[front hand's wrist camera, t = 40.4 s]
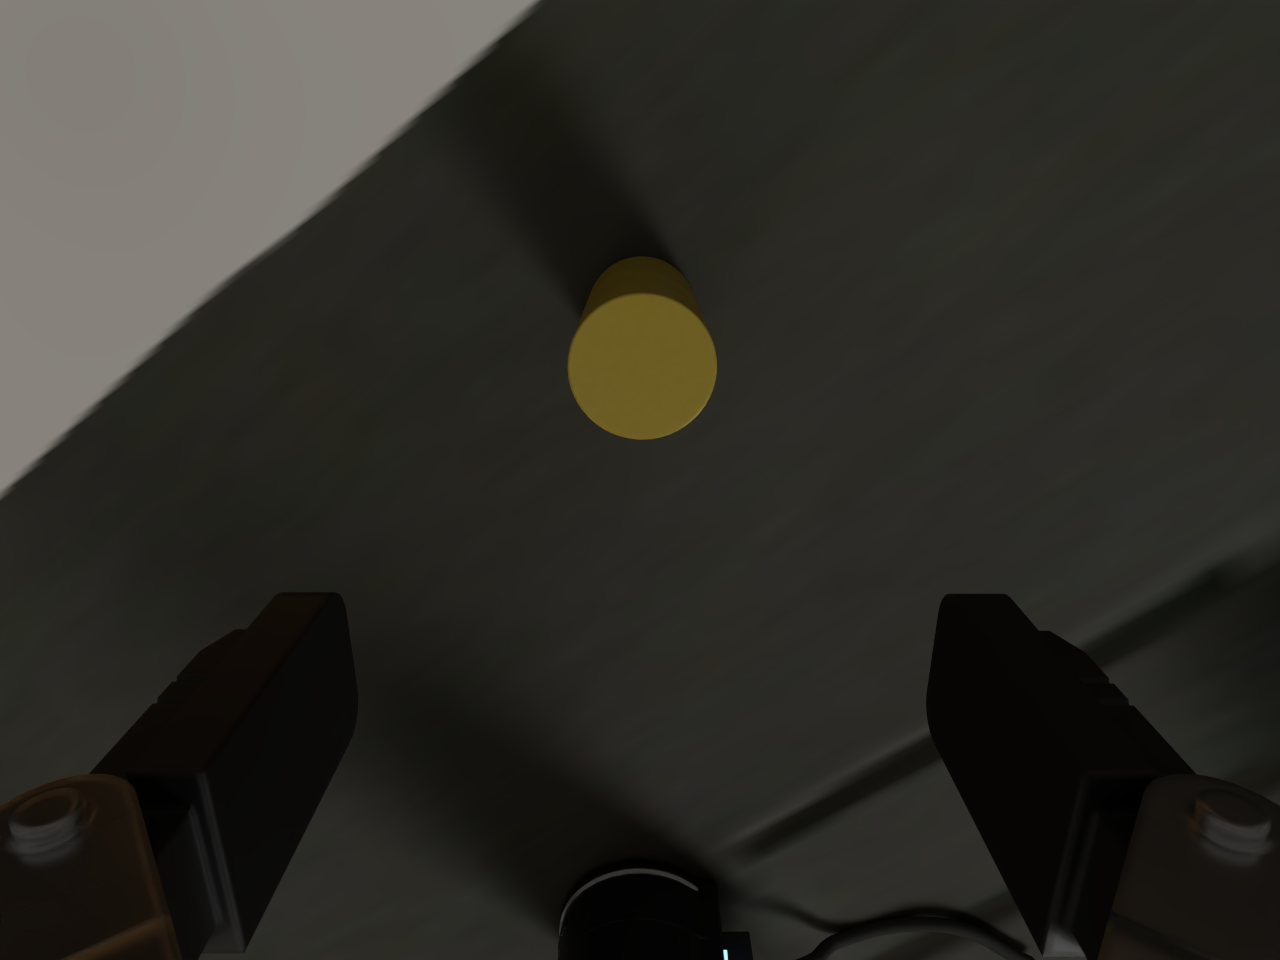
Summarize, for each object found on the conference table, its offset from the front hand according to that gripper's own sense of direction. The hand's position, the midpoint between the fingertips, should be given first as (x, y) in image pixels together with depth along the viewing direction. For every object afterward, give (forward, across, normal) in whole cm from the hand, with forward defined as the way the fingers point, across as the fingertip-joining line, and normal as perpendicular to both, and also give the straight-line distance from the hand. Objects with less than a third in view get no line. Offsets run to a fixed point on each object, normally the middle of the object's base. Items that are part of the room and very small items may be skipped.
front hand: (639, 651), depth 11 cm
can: (+28, 0, 0) cm, 28 cm away
